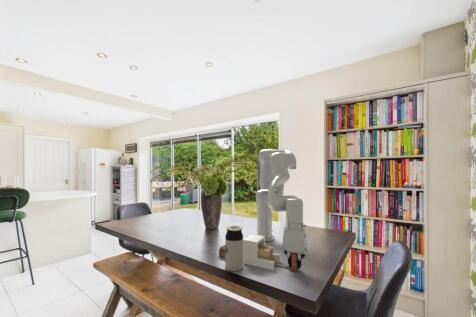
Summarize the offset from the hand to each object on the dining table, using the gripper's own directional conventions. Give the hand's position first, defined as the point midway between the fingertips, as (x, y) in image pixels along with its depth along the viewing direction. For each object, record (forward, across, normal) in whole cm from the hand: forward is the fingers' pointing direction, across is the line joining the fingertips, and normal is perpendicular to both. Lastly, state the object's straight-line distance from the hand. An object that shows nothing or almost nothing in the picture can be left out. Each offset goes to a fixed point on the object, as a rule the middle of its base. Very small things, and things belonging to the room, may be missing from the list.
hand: (294, 266), depth 101 cm
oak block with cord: (+1, +9, 0) cm, 9 cm away
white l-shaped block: (+1, +15, 0) cm, 15 cm away
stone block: (+2, +32, +2) cm, 32 cm away
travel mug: (+1, +25, +12) cm, 27 cm away
